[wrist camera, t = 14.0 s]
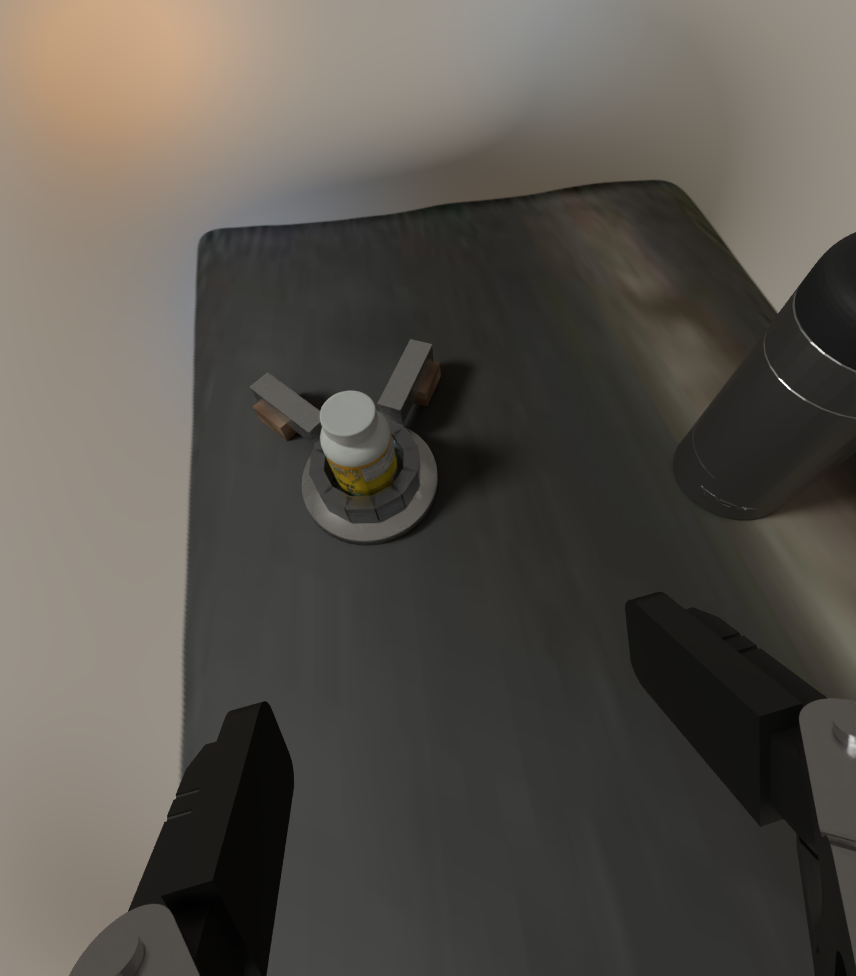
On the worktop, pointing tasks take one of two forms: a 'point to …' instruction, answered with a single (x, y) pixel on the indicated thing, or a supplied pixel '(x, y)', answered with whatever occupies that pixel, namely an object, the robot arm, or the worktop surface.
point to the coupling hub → (382, 511)
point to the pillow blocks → (421, 399)
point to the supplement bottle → (357, 444)
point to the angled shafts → (390, 405)
